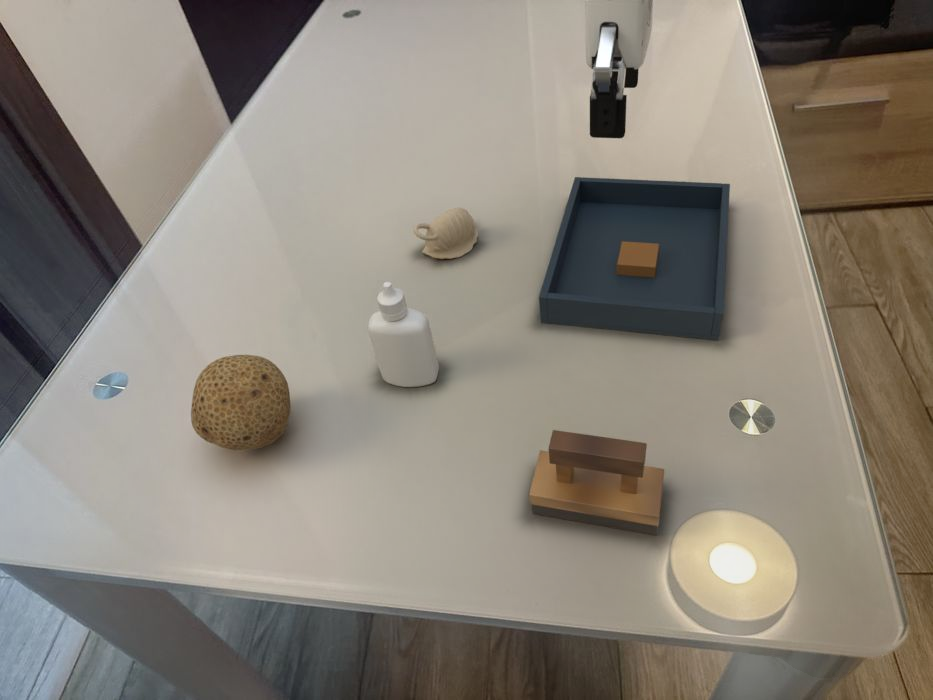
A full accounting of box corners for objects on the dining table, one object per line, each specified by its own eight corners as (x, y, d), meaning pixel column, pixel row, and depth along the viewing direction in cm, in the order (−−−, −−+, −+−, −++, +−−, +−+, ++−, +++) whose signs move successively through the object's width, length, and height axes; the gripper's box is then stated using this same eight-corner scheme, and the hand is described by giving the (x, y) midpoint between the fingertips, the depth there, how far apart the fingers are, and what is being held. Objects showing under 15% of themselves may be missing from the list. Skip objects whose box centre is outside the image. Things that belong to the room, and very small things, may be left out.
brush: (661, 490, 58) (669, 431, 53) (656, 538, 55) (664, 481, 50) (542, 471, 61) (536, 413, 55) (531, 516, 58) (524, 459, 53)
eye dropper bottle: (404, 351, 73) (380, 260, 65) (446, 371, 71) (427, 280, 62) (376, 378, 71) (347, 288, 63) (419, 400, 68) (394, 310, 60)
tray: (725, 209, 83) (730, 183, 80) (718, 340, 69) (723, 313, 66) (575, 201, 88) (574, 176, 85) (540, 322, 74) (538, 297, 71)
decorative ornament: (487, 243, 84) (483, 206, 80) (427, 273, 82) (419, 236, 78) (469, 228, 87) (464, 190, 83) (410, 256, 84) (402, 219, 80)
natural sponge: (212, 488, 64) (165, 420, 57) (214, 415, 70) (172, 345, 63) (311, 462, 65) (276, 391, 58) (304, 391, 71) (272, 320, 64)
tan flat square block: (658, 254, 78) (659, 243, 77) (654, 278, 75) (655, 267, 74) (621, 251, 79) (621, 241, 78) (616, 275, 76) (617, 264, 75)
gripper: (656, -52, 51) (643, 160, 63) (677, -122, 62) (662, 69, 74) (552, -48, 53) (559, 156, 65) (590, -116, 64) (590, 69, 76)
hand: (614, 110), depth 69 cm, fingers open, 9 cm apart
